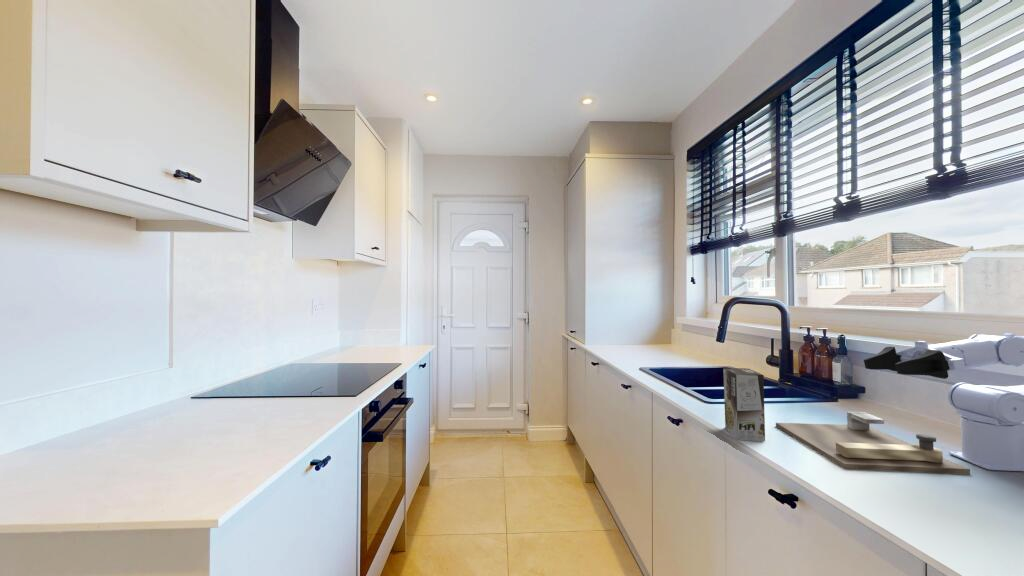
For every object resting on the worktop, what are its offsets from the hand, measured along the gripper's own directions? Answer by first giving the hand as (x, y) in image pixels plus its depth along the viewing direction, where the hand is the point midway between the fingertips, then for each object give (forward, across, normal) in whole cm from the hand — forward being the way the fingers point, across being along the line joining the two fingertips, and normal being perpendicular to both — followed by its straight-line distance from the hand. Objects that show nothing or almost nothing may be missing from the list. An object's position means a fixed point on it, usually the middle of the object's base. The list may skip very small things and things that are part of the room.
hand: (881, 366), depth 80 cm
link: (+3, 0, +19) cm, 19 cm away
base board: (+2, -9, +19) cm, 21 cm away
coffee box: (+24, -15, +16) cm, 32 cm away
